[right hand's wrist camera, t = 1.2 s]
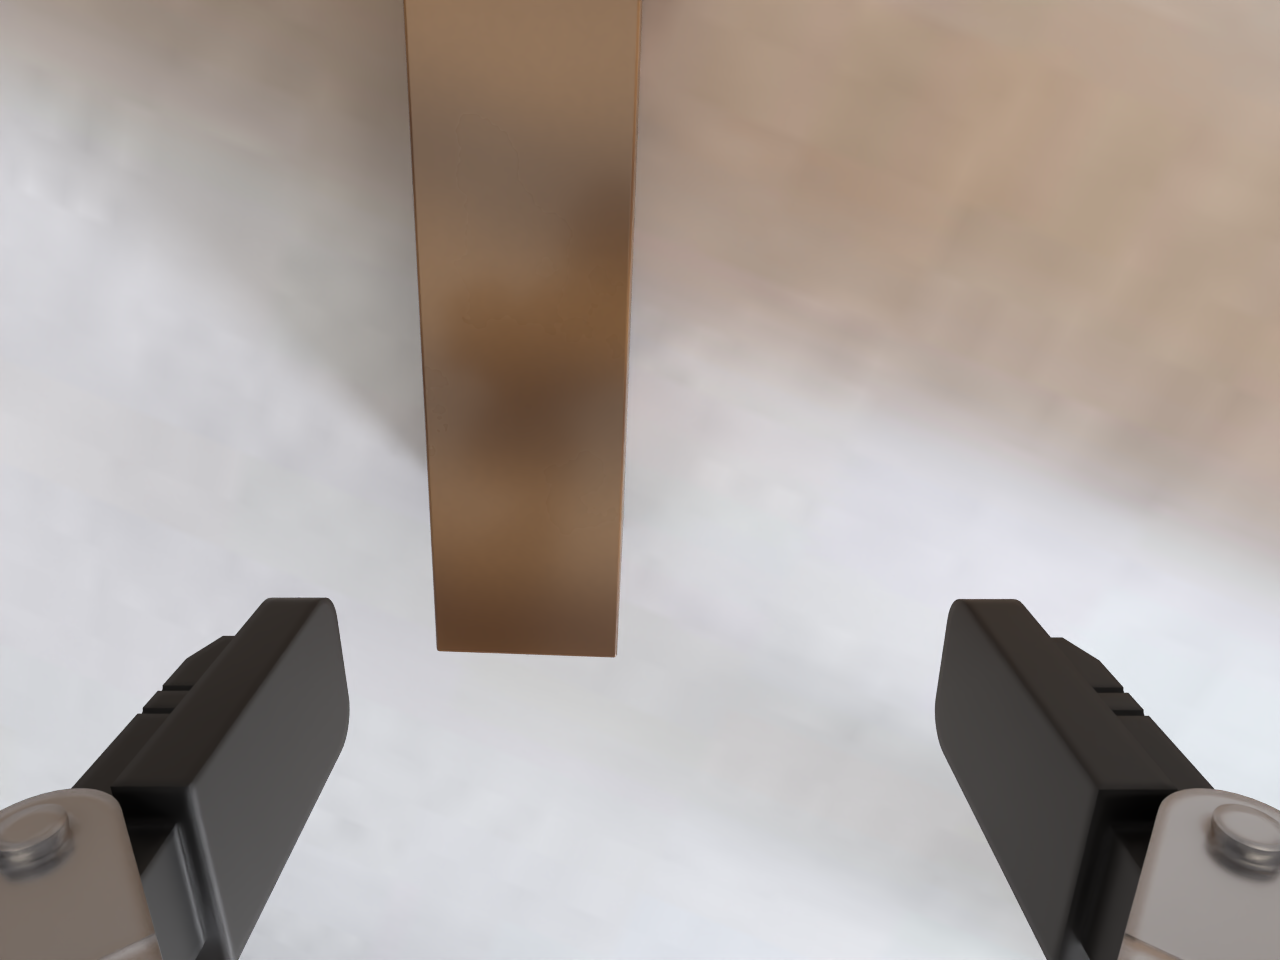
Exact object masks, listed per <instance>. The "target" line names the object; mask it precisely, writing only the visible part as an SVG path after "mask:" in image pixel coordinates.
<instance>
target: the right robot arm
mask: <svg viewBox="0 0 1280 960" xmlns="http://www.w3.org/2000/svg"><path fill="white" fill-rule="evenodd" d="M1143 711H1144V710H1143V709H1142V708H1141V707H1140V705H1139V704H1138V703H1137V702H1136V701H1135V700H1134V699H1133V698H1132V696H1131V695H1130V694H1129V693H1124V691H1123V686H1122V685H1121V684H1120V683H1119V682H1118V681H1117V680H1116V679H1115V677H1114V676H1113V675H1112V674H1111V673H1110V672H1109V671H1108V670H1107V669H1106V667H1105V666H1104V665H1103V664H1102V663H1101V662H1100V661H1099V660H1098V659H1096V658H1094V657H1093V656H1091V655H1090V654H1088V653H1086V652H1085V651H1083V650H1082V649H1080V648H1078V647H1077V646H1075V645H1074V644H1072V643H1070V642H1069V641H1067V640H1065V639H1064V638H1051V637H1050V636H1049V635H1048V634H1047V632H1046V631H1045V630H1044V629H1043V628H1042V627H1041V625H1040V624H1039V623H1038V622H1037V621H1036V619H1035V618H1034V617H1033V616H1032V615H1031V613H1030V612H1029V611H1028V610H1027V609H1026V607H1025V606H1024V605H1023V604H1022V603H1021V602H1020V601H1018V600H1016V599H958V600H956V601H954V602H953V604H952V606H951V608H950V611H949V614H948V620H947V626H946V633H945V640H944V646H943V653H942V660H941V667H940V673H939V680H938V687H937V694H936V701H935V721H936V730H937V735H938V739H939V743H940V746H941V749H942V751H943V753H944V755H945V757H946V759H947V761H948V763H949V765H950V767H951V769H952V771H953V773H954V775H955V777H956V779H957V781H958V783H959V785H960V787H961V789H962V791H963V793H964V795H965V797H966V799H967V801H968V803H969V805H970V807H971V809H972V811H973V813H974V815H975V817H976V819H977V821H978V823H979V825H980V827H981V829H982V831H983V833H984V835H985V837H986V839H987V841H988V843H989V845H990V847H991V849H992V851H993V853H994V855H995V857H996V859H997V861H998V863H999V865H1000V867H1001V869H1002V871H1003V873H1004V875H1005V877H1006V879H1007V881H1008V883H1009V885H1010V887H1011V889H1012V891H1013V893H1014V895H1015V897H1016V899H1017V901H1018V903H1019V905H1020V907H1021V909H1022V911H1023V913H1024V915H1025V917H1026V919H1027V921H1028V923H1029V925H1030V927H1031V929H1032V931H1033V933H1034V935H1035V937H1036V939H1037V941H1038V943H1039V945H1040V947H1041V949H1042V951H1043V953H1044V955H1045V957H1046V959H1047V960H1280V811H1279V810H1277V809H1275V808H1273V807H1271V806H1269V805H1267V804H1265V803H1262V802H1260V801H1257V800H1255V799H1252V798H1249V797H1246V796H1243V795H1239V794H1236V793H1232V792H1227V791H1223V790H1216V789H1214V788H1213V787H1212V786H1211V785H1210V784H1209V782H1208V781H1207V780H1206V779H1205V778H1204V777H1203V776H1202V775H1201V774H1200V772H1199V771H1198V770H1197V769H1196V768H1195V767H1194V766H1193V765H1192V763H1191V762H1190V761H1189V760H1188V759H1187V758H1186V757H1185V756H1184V755H1183V753H1182V752H1181V751H1180V750H1179V749H1178V748H1177V747H1176V746H1175V744H1174V743H1173V742H1172V741H1171V740H1170V739H1169V738H1168V737H1167V736H1166V734H1165V733H1164V732H1163V731H1162V730H1161V729H1160V728H1159V727H1158V726H1157V724H1156V723H1155V722H1154V721H1153V720H1152V719H1151V718H1150V717H1149V716H1144V712H1143ZM348 724H349V696H348V689H347V682H346V675H345V668H344V661H343V655H342V648H341V641H340V634H339V627H338V620H337V615H336V610H335V607H334V605H333V603H332V601H331V600H330V599H329V598H268V599H266V600H265V601H264V602H263V603H262V604H261V605H260V606H259V607H258V609H257V610H256V611H255V612H254V613H253V615H252V616H251V617H250V618H249V619H248V621H247V622H246V623H245V624H244V626H243V627H242V628H241V629H240V630H239V632H238V633H237V634H236V635H235V636H222V637H221V638H219V639H217V640H216V641H214V642H212V643H211V644H209V645H208V646H206V647H204V648H203V649H201V650H200V651H198V652H196V653H195V654H193V655H192V656H190V657H188V658H187V659H186V660H185V661H184V662H183V663H182V664H181V665H180V666H179V668H178V669H177V670H176V671H175V672H174V673H173V674H172V676H171V677H170V678H169V679H168V680H167V681H166V682H165V683H164V685H163V689H162V691H157V692H156V694H155V695H154V696H153V697H152V698H151V699H150V700H149V701H148V703H147V704H146V705H145V706H144V707H143V712H142V714H137V715H136V716H135V717H134V718H133V719H132V721H131V722H130V723H129V724H128V725H127V726H126V727H125V728H124V730H123V731H122V732H121V733H120V734H119V735H118V736H117V738H116V739H115V740H114V741H113V742H112V743H111V744H110V745H109V747H108V748H107V749H106V750H105V751H104V752H103V753H102V754H101V756H100V757H99V758H98V759H97V760H96V761H95V762H94V763H93V765H92V766H91V767H90V768H89V769H88V770H87V771H86V772H85V774H84V775H83V776H82V777H81V778H80V779H79V780H78V781H77V783H76V784H75V785H74V786H73V787H72V788H71V789H64V790H57V791H53V792H48V793H44V794H41V795H37V796H34V797H31V798H28V799H25V800H23V801H20V802H18V803H15V804H13V805H11V806H9V807H7V808H5V809H3V810H1V811H0V960H238V959H239V957H240V955H241V953H242V951H243V949H244V947H245V945H246V943H247V941H248V939H249V937H250V935H251V933H252V931H253V929H254V927H255V925H256V922H257V920H258V918H259V916H260V914H261V912H262V910H263V908H264V906H265V904H266V902H267V900H268V898H269V896H270V894H271V892H272V890H273V888H274V886H275V884H276V882H277V880H278V878H279V876H280V874H281V872H282V870H283V868H284V866H285V864H286V862H287V860H288V858H289V856H290V854H291V852H292V850H293V848H294V846H295V844H296V842H297V840H298V838H299V836H300V834H301V832H302V830H303V827H304V825H305V823H306V821H307V819H308V817H309V815H310V813H311V811H312V809H313V807H314V805H315V803H316V801H317V799H318V797H319V795H320V793H321V791H322V789H323V787H324V785H325V783H326V781H327V779H328V777H329V775H330V773H331V771H332V769H333V767H334V765H335V763H336V761H337V759H338V757H339V755H340V753H341V751H342V748H343V746H344V743H345V739H346V735H347V730H348Z"/></svg>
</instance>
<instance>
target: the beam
mask: <svg viewBox="0 0 1280 960" xmlns="http://www.w3.org/2000/svg"><path fill="white" fill-rule="evenodd" d="M403 6H404V25H405V45H406V64H407V83H408V102H409V122H410V141H411V160H412V180H413V199H414V218H415V238H416V257H417V276H418V295H419V315H420V334H421V353H422V373H423V392H424V411H425V430H426V450H427V469H428V488H429V508H430V527H431V546H432V566H433V585H434V604H435V623H436V643H437V650H438V651H450V652H478V653H506V654H534V655H562V656H590V657H616V655H617V641H618V620H619V599H620V578H621V558H622V537H623V512H624V485H625V458H626V430H627V403H628V376H629V349H630V322H631V295H632V268H633V240H634V213H635V186H636V159H637V132H638V105H639V78H640V50H641V23H642V0H403Z"/></svg>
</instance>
